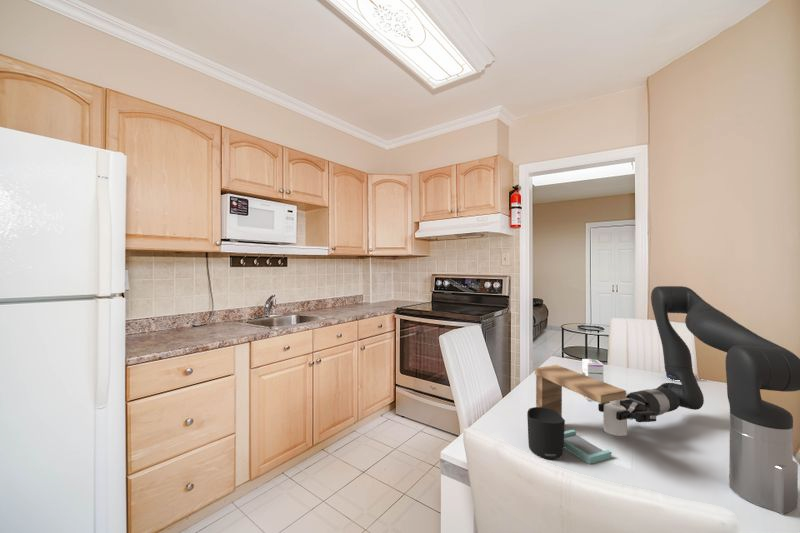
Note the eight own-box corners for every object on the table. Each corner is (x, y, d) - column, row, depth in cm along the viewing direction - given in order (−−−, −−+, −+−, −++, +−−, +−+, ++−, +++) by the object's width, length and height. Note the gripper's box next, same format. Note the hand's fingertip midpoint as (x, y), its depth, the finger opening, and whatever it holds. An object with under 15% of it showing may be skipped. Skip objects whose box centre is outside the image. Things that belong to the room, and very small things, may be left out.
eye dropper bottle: (606, 426, 96) (606, 387, 96) (628, 434, 92) (628, 393, 91) (601, 431, 93) (601, 391, 93) (624, 439, 89) (623, 397, 89)
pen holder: (521, 450, 87) (521, 414, 87) (535, 437, 93) (535, 404, 93) (557, 466, 80) (557, 427, 80) (569, 450, 87) (569, 414, 87)
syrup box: (604, 402, 117) (604, 363, 117) (587, 400, 119) (587, 362, 119) (598, 396, 123) (598, 359, 123) (581, 394, 124) (581, 358, 124)
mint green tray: (611, 457, 84) (611, 451, 84) (589, 464, 81) (589, 457, 81) (572, 434, 95) (572, 429, 95) (552, 439, 92) (552, 434, 92)
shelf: (625, 463, 81) (625, 390, 81) (600, 471, 78) (600, 395, 78) (556, 423, 102) (557, 364, 102) (534, 428, 99) (535, 367, 99)
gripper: (624, 383, 104) (586, 390, 98) (674, 400, 90) (633, 409, 85) (624, 405, 104) (586, 414, 98) (674, 426, 90) (633, 437, 85)
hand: (608, 412), depth 91 cm, fingers closed on eye dropper bottle, 5 cm apart
